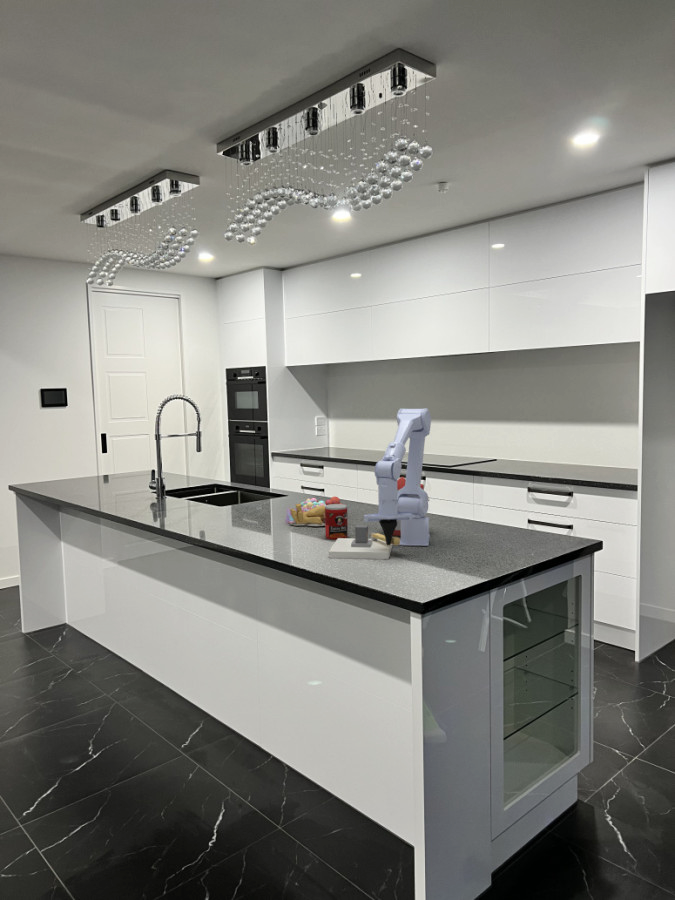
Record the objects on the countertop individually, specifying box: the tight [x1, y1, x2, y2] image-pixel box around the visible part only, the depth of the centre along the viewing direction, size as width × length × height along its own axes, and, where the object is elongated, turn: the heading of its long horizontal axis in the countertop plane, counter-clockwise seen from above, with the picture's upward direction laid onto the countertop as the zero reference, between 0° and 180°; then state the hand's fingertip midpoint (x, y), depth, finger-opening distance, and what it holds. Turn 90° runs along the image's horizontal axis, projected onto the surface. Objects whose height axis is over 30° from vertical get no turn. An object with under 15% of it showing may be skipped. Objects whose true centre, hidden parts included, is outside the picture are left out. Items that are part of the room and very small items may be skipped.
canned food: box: [324, 503, 349, 541], centre depth 230 cm, size 8×8×11 cm
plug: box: [351, 524, 372, 547], centre depth 210 cm, size 6×6×8 cm
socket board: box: [328, 537, 394, 560], centre depth 210 cm, size 18×18×2 cm
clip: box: [370, 532, 401, 546], centre depth 210 cm, size 2×15×3 cm, turn 26°
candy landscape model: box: [285, 495, 343, 527], centre depth 260 cm, size 25×24×9 cm
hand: (388, 544), depth 204 cm, fingers closed
